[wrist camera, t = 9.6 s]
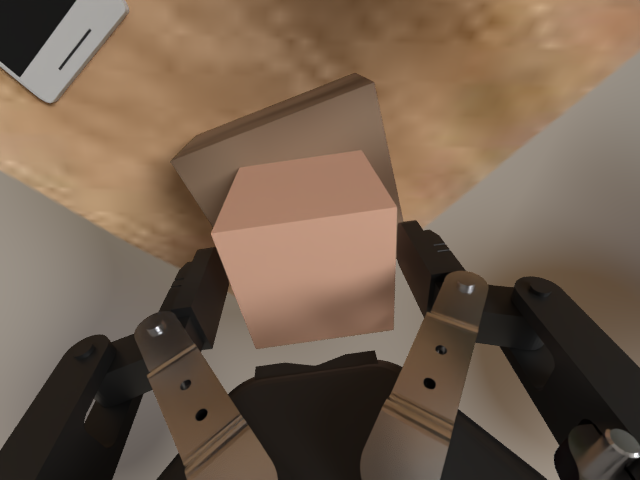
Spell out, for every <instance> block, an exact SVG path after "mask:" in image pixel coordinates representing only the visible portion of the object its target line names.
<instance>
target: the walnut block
mask: <svg viewBox="0 0 640 480" xmlns="http://www.w3.org/2000/svg"><path fill="white" fill-rule="evenodd" d="M358 150H362V152H363V153H364V155H365V156H366V158H367V160H368V161H369V163H370V164H371V166H372V168H373V169H374V171H375V172H376V174H377V176H378V177H379V179H380V180H381V182H382V184H383V185H384V187H385V188H386V190H387V192H388V193H389V195H390V196H391V198H392V200H393V201H394V203H395V204H396V206H397V226H398V223H400V222H403V217H402V212H401V207H400V203H399V198H398V193H397V188H396V184H395V179H394V174H393V169H392V165H391V160H390V155H389V150H388V146H387V141H386V136H385V131H384V127H383V122H382V117H381V112H380V108H379V103H378V98H377V93H376V89H375V84H374V82H373V81H371V80H369V79H367V78H365V77H363V76H361V75H359V74H357V73H353V74H351V75H348V76H346V77H343V78H341V79H338V80H336V81H333V82H330V83H328V84H325V85H323V86H320V87H318V88H315V89H313V90H310V91H308V92H305V93H303V94H300V95H297V96H295V97H292V98H290V99H287V100H285V101H282V102H280V103H277V104H275V105H272V106H270V107H267V108H264V109H262V110H259V111H257V112H254V113H252V114H249V115H247V116H244V117H242V118H239V119H237V120H234V121H231V122H229V123H226V124H224V125H221V126H219V127H216V128H214V129H211V130H209V131H206V132H204V133H201V134H199V135H196V136H195V137H194V138H193V139H192V140H191V141H190V142H189V143H188V144H187V145H186V146H185V147H184V148H183V149H182V150H181V151H180V152H179V153H178V154H177V155H176V156H175V157H174V158H173V159H172V160H171V161H170V162H171V164H172V165H173V167H174V168H175V170H176V171H177V173H178V174H179V176H180V177H181V179H182V180H183V182H184V183H185V185H186V187H187V188H188V190H189V191H190V193H191V194H192V196H193V197H194V199H195V200H196V202H197V203H198V205H199V206H200V208H201V210H202V211H203V213H204V214H205V216H206V217H207V219H208V220H209V222H210V223H211V225H212V226H213V227H214V225H215V223H216V220H217V218H218V216H219V213H220V211H221V209H222V207H223V204H224V202H225V200H226V197H227V195H228V193H229V190H230V188H231V186H232V183H233V181H234V179H235V177H236V174H237V172H238V170H239V168H240V167H247V166H254V165H260V164H267V163H274V162H281V161H288V160H295V159H302V158H309V157H316V156H323V155H330V154H337V153H344V152H351V151H358ZM396 246H397V230H396ZM396 259H397V254H396Z"/></svg>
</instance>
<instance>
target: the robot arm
mask: <svg viewBox="0 0 640 480" xmlns="http://www.w3.org/2000/svg"><path fill="white" fill-rule="evenodd" d="M396 254H397V260H398V264H399V266H400V268H401V270H402V272H403V275H404V276H405V279H406V281H407V283H408V285H409V287H410V289H411V291H412V293H413V295H414V297H415V300H416V302H417V304H418V306H419V308H420V310H421V312H422V314H423V316H424V320H423V322H422V324H421V326H420V329H419V331H418V333H417V336H416V338H415V340H414V342H413V345H412V347H411V349H410V351H409V354H408V356H407V358H406V361H405V363H404V366H403V367H401V366H399V365H396V364H394V363H391V362H388V361H383V360H377V357H376V354H375V351H367V352H360V353H353V354H345V355H343V356H340V357H338V358H335V359H333V360H330V361H327V362H325V363H322V364H320V365H316V366H311V365H301V364H292V363H279V364H272V365H266V366H258V367H256V370H255V377H253V378H251V379H249V380H247V381H245V382H243V383H242V384H240V385H238V386H237V387H236V388H235V389H233V390H232V391H231V392H230V393H229V394H227V392H226V391H225V389H224V388H223V386H222V385H221V383H220V382H219V380H218V378H217V377H216V375H215V374H214V372H213V371H212V369H211V368H210V366H209V365H208V363H207V361H206V360H205V358H204V357H203V355H202V354H201V350H205V349H212V348H213V344H214V340H215V337H216V333H217V329H218V325H219V321H220V318H221V314H222V310H223V306H224V302H225V298H226V295H227V291H228V286H229V279H228V276H227V274H226V271H225V269H224V266H223V263H222V261H221V258H220V256H219V253H218V251H217V248H216V247H213V248H206V249H199V250H197V252H196V254H195V257H194V259H193V261H192V262H187V263H186V264H185V265H184V266H183V267H182V268H181V269H180V270H179V272H178V274H177V276H176V278H175V281H174V282H173V284H172V286H171V288H170V290H169V292H168V294H167V296H166V298H165V300H164V302H163V304H162V306H161V308H160V310H159V312H158V313H155V314H153V315H151V316H149V317H147V318H146V319H144V320H143V321H142V322H141V323H140V324H139V325H138V327H137V329H136V330H135V333H134V334H132V335H129V336H127V337H124V338H121V339H119V340H116V341H114V342H110V340H109V339H108V338H107V337H106V336H105V335H94V336H90V337H87V338H85V339H83V340H81V341H79V342H78V343H76V344H75V345H74V346H72V347H71V348H70V349H69V350H68V351H67V352H66V353H65V355H64V356H63V357H62V359H61V360H60V362H59V363H58V365H57V366H56V368H55V369H54V371H53V372H52V374H51V375H50V377H49V378H48V380H47V381H46V383H45V384H44V386H43V387H42V389H41V390H40V392H39V393H38V395H37V396H36V398H35V399H34V401H33V402H32V404H31V405H30V407H29V408H28V410H27V411H26V413H25V414H24V416H23V417H22V419H21V420H20V422H19V423H18V425H17V426H16V428H15V429H14V431H13V432H12V434H11V435H10V437H9V438H8V440H7V441H6V443H5V444H4V446H3V447H2V449H1V450H0V480H112V479H113V476H114V473H115V470H116V468H117V465H118V462H119V459H120V457H121V454H122V451H123V449H124V446H125V443H126V440H127V437H128V435H129V432H130V429H131V427H132V424H133V421H134V418H135V416H136V413H137V410H138V408H139V405H140V402H141V399H142V397H143V394H144V393H146V392H148V391H150V390H153V392H154V394H155V397H156V399H157V401H158V404H159V406H160V409H161V411H162V413H163V416H164V418H165V420H166V423H167V425H168V428H169V430H170V432H171V435H172V437H173V440H174V442H175V445H176V447H177V449H178V452H179V453H178V454H177V455H176V457H175V458H174V459H173V460H172V462H171V463H170V464H169V465H168V466H167V467H166V469H165V470H164V471H163V472H162V474H161V475H160V476H159V477H158V478H157V480H547V479H546V478H545V477H544V476H543V475H541V474H540V473H539V472H538V471H536V470H535V469H534V468H532V467H531V466H530V465H529V464H527V463H526V462H525V461H523V460H522V459H521V458H520V457H518V456H517V455H516V454H515V453H513V452H512V451H511V450H510V449H508V448H507V447H506V446H504V445H503V444H502V443H501V442H499V441H498V440H497V439H495V438H494V437H493V436H492V435H490V434H489V433H488V432H486V431H485V430H484V429H483V428H482V427H480V426H479V425H478V424H476V423H475V422H474V421H473V420H471V419H470V418H469V417H468V416H466V415H465V414H464V413H462V412H461V411H460V410H459V409H458V407H459V403H460V399H461V395H462V391H463V387H464V383H465V380H466V375H467V372H468V368H469V364H470V360H471V356H472V352H473V349H474V345H475V342H476V343H482V344H490V345H497V346H500V348H501V349H502V351H503V353H504V354H505V356H506V358H507V359H508V361H509V363H510V364H511V366H512V368H513V369H514V371H515V373H516V374H517V376H518V378H519V379H520V381H521V383H522V384H523V386H524V388H525V389H526V391H527V393H528V394H529V396H530V398H531V399H532V401H533V402H534V404H535V406H536V407H537V409H538V411H539V412H540V414H541V416H542V417H543V419H544V421H545V422H546V424H547V426H548V427H549V429H550V431H551V432H552V434H553V436H554V437H555V439H556V441H557V442H558V444H559V447H558V448H557V450H556V451H555V454H554V465H555V469H556V471H557V473H558V476H559V478H560V480H640V368H639V367H638V366H637V365H636V364H635V363H634V362H633V361H632V360H631V359H630V358H629V356H628V355H627V354H626V353H625V352H623V350H622V349H621V348H620V347H619V346H618V345H617V344H616V343H615V342H614V341H613V340H612V339H611V338H610V337H609V336H608V335H607V334H606V333H605V332H604V331H603V330H602V329H601V328H600V327H599V326H598V325H597V324H596V323H595V322H594V321H593V320H592V319H591V318H590V317H589V316H588V315H587V314H586V313H585V312H584V311H583V310H582V309H581V308H580V307H579V306H578V305H577V304H576V303H575V302H574V301H573V300H572V299H571V298H570V297H569V296H568V295H567V294H566V293H565V292H564V291H563V290H562V289H561V288H560V287H559V286H557V285H556V284H554V283H553V282H551V281H549V280H546V279H543V278H539V277H523V278H520V279H519V280H517V281H516V283H515V286H514V287H504V286H493V285H488V284H487V282H486V281H485V280H484V279H483V278H482V277H480V276H479V275H477V274H475V273H472V272H468V271H466V270H465V269H464V268H463V267H462V265H461V264H460V263H459V261H458V260H457V259H456V257H455V256H454V255H453V253H452V252H451V251H450V250H449V248H448V247H447V245H445V243H444V241H443V240H442V239H441V237H440V236H439V235H437V234H436V233H434V232H432V231H431V230H424V231H423V229H422V228H421V226H420V225H419V223H418V222H417V221H416V220H414V221H407V222H400V223H398V226H397V246H396ZM93 399H95V400H96V401H95V403H94V405H93V407H92V409H91V411H90V413H89V415H88V417H87V419H86V421H85V423H84V419H85V416H86V413H87V411H88V409H89V407H90V405H91V403H92V401H93Z"/></svg>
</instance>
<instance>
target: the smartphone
mask: <svg viewBox="0 0 640 480" xmlns="http://www.w3.org/2000/svg"><path fill="white" fill-rule="evenodd" d="M128 13H129V7H128V5H127V3H126V1H125V0H0V67H1V68H3V69H4V70H5V71H6V72H7V73H9V74H10V75H11V76H12V77H14V78H15V79H16V80H17V81H18V82H20V83H21V84H22V85H23V86H25V87H26V88H27V89H28V90H29V91H31V92H32V93H33V94H34V95H36V96H37V97H38V98H40V99H41V100H43V101H45V102H48V103H52V102H56V101H58V99H59V98H60V97H61V96H62V94H63V93H64V92H65V91H66V89H67V88H68V87H69V86H70V84H71V83H72V82H73V81H74V80H75V78H76V77H77V76H78V75H79V73H80V72H81V71H82V70H83V68H84V67H85V66H86V65H87V64H88V62H89V61H90V60H91V59H92V57H93V56H94V55H95V54H96V52H97V51H98V50H99V49H100V48H101V46H102V45H103V44H104V43H105V41H106V40H107V39H108V38H109V36H110V35H111V34H112V33H113V31H114V30H115V29H116V28H117V27H118V25H119V24H120V23H121V22H122V20H123V19H124V18H125V17H126V15H127V14H128Z"/></svg>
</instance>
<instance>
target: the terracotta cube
mask: <svg viewBox="0 0 640 480" xmlns="http://www.w3.org/2000/svg"><path fill="white" fill-rule="evenodd" d="M396 230H397V206H396V204H395V203H394V201H393V200H392V198H391V196H390V195H389V193H388V192H387V190H386V188H385V187H384V185H383V184H382V182H381V180H380V179H379V177H378V176H377V174H376V172H375V171H374V169H373V168H372V166H371V164H370V163H369V161H368V160H367V158H366V156H365V155H364V153H363V152H362V150H358V151H351V152H344V153H337V154H330V155H323V156H316V157H309V158H302V159H295V160H288V161H281V162H274V163H267V164H260V165H254V166H247V167H240V168H239V170H238V172H237V174H236V177H235V179H234V181H233V183H232V186H231V188H230V190H229V193H228V195H227V197H226V200H225V202H224V204H223V207H222V209H221V211H220V213H219V216H218V218H217V220H216V223H215V225H214V227H213V230H212V232H211V235H212V238H213V240H214V243H215V246H216V248H217V251H218V253H219V256H220V258H221V261H222V263H223V266H224V269H225V271H226V274H227V276H228V279H229V281H230V284H231V286H232V289H233V292H234V294H235V297H236V299H237V302H238V304H239V307H240V310H241V312H242V315H243V317H244V320H245V322H246V325H247V327H248V330H249V333H250V335H251V338H252V340H253V343H254V345H255V348H256V349H260V348H267V347H275V346H282V345H289V344H296V343H304V342H311V341H317V340H325V339H332V338H339V337H347V336H354V335H361V334H368V333H374V332H383V331H389V330H393V329H394V300H395V299H394V298H395V265H396Z"/></svg>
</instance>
